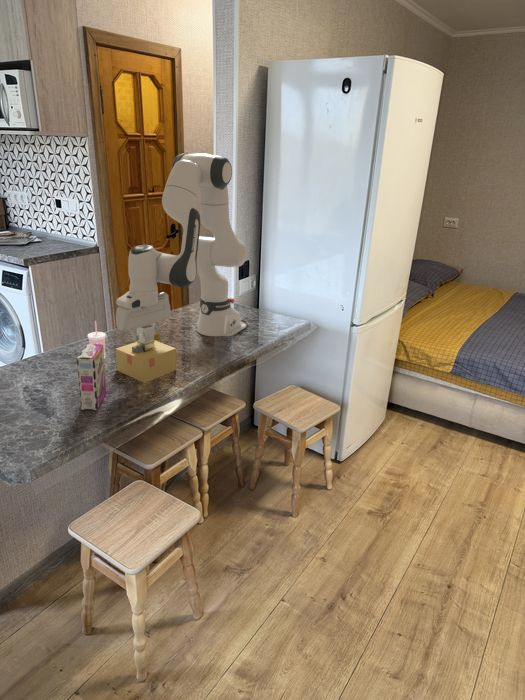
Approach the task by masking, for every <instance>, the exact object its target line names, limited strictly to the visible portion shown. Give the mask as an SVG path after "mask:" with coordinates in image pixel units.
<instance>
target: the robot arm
mask: <svg viewBox="0 0 525 700" xmlns="http://www.w3.org/2000/svg"><path fill="white" fill-rule="evenodd" d="M232 176H233V167H232V164H231V162H230V160H229V159H228V158H227V157H226V156H221V155H219V154H218V155H213V154H209V153H204V152H203V153H187V152H185V153H179V154H178V155H176V156H175V158H174V159H173V161H172V162H171V171H170V173H169V175H168V177H167V181H166V183H165V186H164V190H163V193H162V197H161V203H162V205H161V206H162V207H163V210H164V212H165V214H167V216H169V217H170V218H171V219H173V220H174V221H175V222H177V223H178V224H179V225H181V226H182V239H181V240H182V241H181V247H180V253H179V254H178V255H176V254H170V253H166V252H165V253H164V252H161V251H158V250H156V249H155V248H154V246H153V245H149V244H141V245H136V246H133V247H131V249H130V250H129V253H128V261H127V262H128V265H127V266H128V267H127V268H128V269H127V270H128V272H127V273H128V277H129V281H130V283H129V286H128V287H129V288H128V289H129V290H128V291H127V292H125V293H124V294H123V295H121V296H120V297H118V298H116V300H115V301H116V303H115V304H116V306H118V307H117V308H116V312H115V324H116V328H117V330H119V331H121V332H128V333H129V334H130V335H131V340H132V341H133V342H137V340H139V335H137V333H136V332H137V330H136V328H139V327H143V326H146V325H149V324H153V323H155V326H154V335H156V334H159V333H160V328H161V326H162V322H163V321H165V320H169V319H170V317H171V316H172V314H171V312H172V311H171V304H170V299H169V298H170V297H169V296H170V295H169V294H168V293H166V292H165V291H163V292H158V290H159V289H158V288H159V287H158V284H157V283H161V284H166V285H167V284H168V285H172V286H174V287H177V288H181V289H185V288H187V287H188V286H190V285H192V284H193V282H195V280H196V278H197V274H198V277H199V281H200V298H199V307H200V309H199V312H198V313H199V314H198V315H199V316H198V321H197V324H196V327H197V329H196V332H197V333H199V334H200V335H203V336H206V337H232V336H234V335H236V334H238V333H239V332H241V331H242V330H244V329H246V328H247V324H246V323H245V322H242V317H241V313H240V312H239V311H237V310H236V309H235V308H234V307H232V305H231V304H234V303H235V302H236V299H235V298H232V297H229V281H228V279H227V278H226V276H224V275H223V274H221V273H220V272H219V271H218V270H217V267H224V268H237V267H241V266H243V265H244V263H246V261H247V257H248V249H247V246H246V245H245V243H244V242H243V241H242V240H240V239H239V238H238V237H237V235H236V234H235V232H234V230H233V228H232V225H231V221H230V209H229V207H230V206H229V205H230V204H229V203H230V201H229V188H228V185H229V184H230V182H231V180H232ZM198 197H199V198H198ZM198 199H199V200H198ZM197 201H198V202H199V211H198V210H197ZM201 225H202V226H203V227H204V228H205V229H207V230H209V231H210V233H212V235H213V237H212V236H203V235H202V236H201V235H200V234H201V233H200V232H201ZM216 266H217V267H216Z"/></svg>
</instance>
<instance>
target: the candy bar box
mask: <svg viewBox="0 0 525 700" xmlns="http://www.w3.org/2000/svg"><path fill="white" fill-rule="evenodd" d="M76 363H77V374H78V387H79V398H80V410H81V411H99V409H100V406H101V404H102V402H103V401H104V398H105V396H106V394H107V385H106V371H105V369H106V368H105V359H104V349H103V345H102V344H89V343H87V344H86V345H85V347H84V348H83V349H82V350H81V352H80V353H79V355H78V356H77V357H76Z"/></svg>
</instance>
